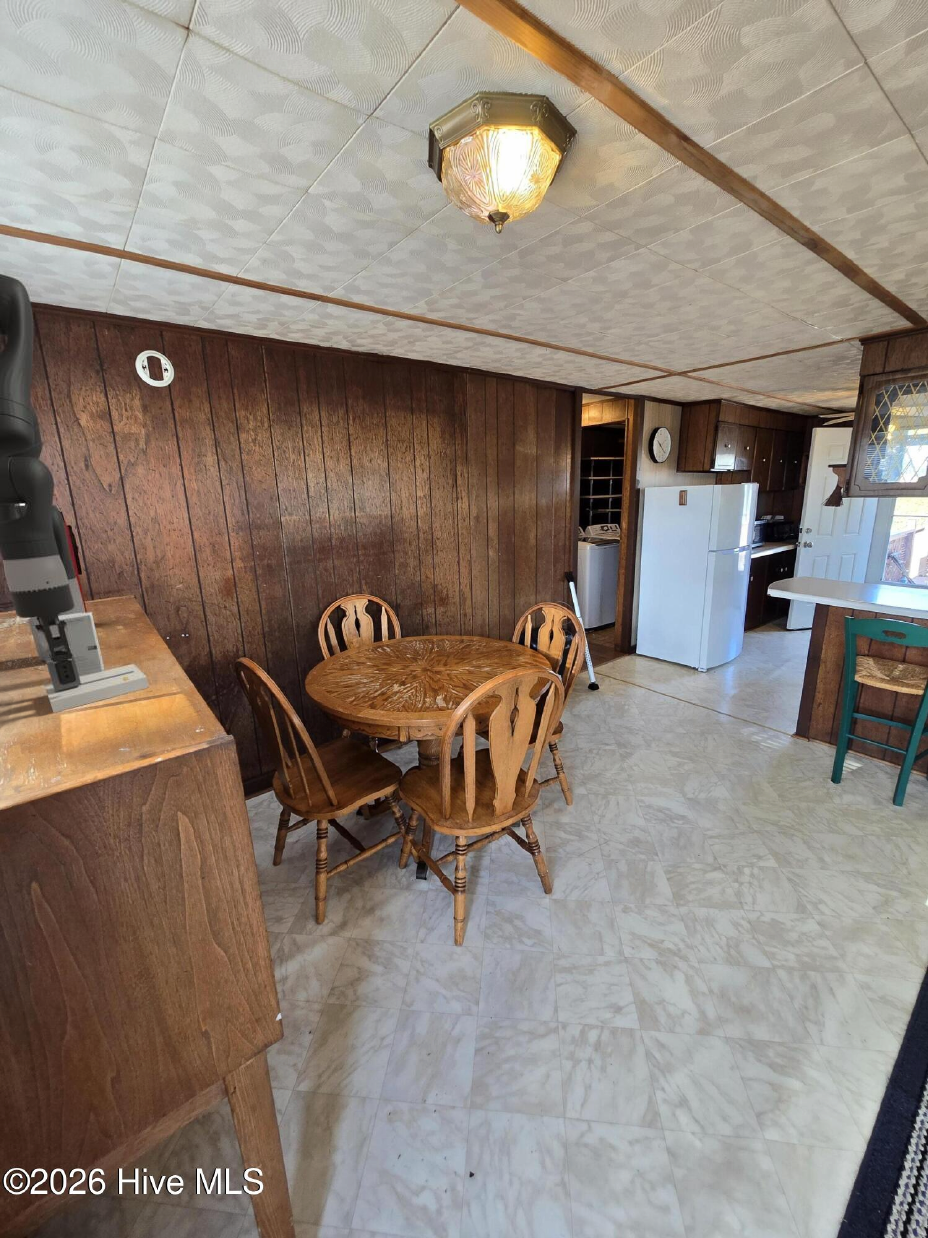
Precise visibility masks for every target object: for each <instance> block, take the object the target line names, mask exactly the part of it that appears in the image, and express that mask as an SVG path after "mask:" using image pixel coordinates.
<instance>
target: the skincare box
mask: <svg viewBox="0 0 928 1238" xmlns="http://www.w3.org/2000/svg"><path fill="white" fill-rule="evenodd" d="M58 617H59V620H60V621H62V620H64V621H65V622H66V624H67V627H68V636H69V639H70V642H71V648H70V651H71V653H72V655H73V657H74V660H75V663H76V667H77V671H78V674H79V677H81V676H85V675H89V674H94V673H98V672H102V671H105V664H104V661H103V657H102V652H101V647H100V643H99V640H98V633H97V631H96V626H95V622H94V616H93V612H92V611H85V612H84V613H75V614H68V615H61V616H58ZM62 651H64V650H62Z"/></svg>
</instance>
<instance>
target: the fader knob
mask: <svg viewBox="0 0 928 1238" xmlns="http://www.w3.org/2000/svg"><path fill="white" fill-rule="evenodd" d="M45 660H46V661H45ZM45 660H44V661H45V663H46V666H47V670H48V675H49V676H50V680H51V684H53V687H54V690H55V691H58V690H62V689H66V688H70V687H74V686H78V685H81V682H80V678H79V674H78V671H77V667H76V663H75V660H74V657H73V656H72V660H71V662H72V665H73V669H74V673H75V676H76V681H75V682H73V683H69V684H65V685H61V684H60V683H59V680H58V676H57V673H56V669H55V666H54V664H53V662H51V658H50V659H45Z"/></svg>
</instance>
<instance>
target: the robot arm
mask: <svg viewBox="0 0 928 1238" xmlns="http://www.w3.org/2000/svg"><path fill="white" fill-rule="evenodd" d="M34 331H35V330H34V314H33V308H32V304H31V299H30V296H29V292H28V290H27V288H26V286H25V285H24V284H23V282H22V281H20V279H18V278H14V277H12V276H8V275H6V274H2V273H0V337H6V338H7V342H6V344H5V346H4V348H3V349H2V351H1V352H0V555H1V556H0V557H1V559H2V562H3V569H4V575H5V578H6V583H7V586H8V590H9V593H10V597H11V601H12V603H13V607H14V610H15V613H16V615H17V616H18V617H20V618H25V619H27V618H28V624H29V627H30V628H29V629H30V631H31V635H32V638H33V642H34V645H35V648H36V652H37V655H38V659H39V661H45V662H46V660H45V659H50V658H51V662H53V664H54V666H55V669H56V673H57V676H58V680H59V683H60V684H61V685H65V684H69V683H73V682H75V681H76V676H75V673H74V669H73V665H72V662H71V660H72V656H73V655H72V653H71V651H70V648H71V642H70V639H69V636H68V627H67V624H66V622H65V621H64V620H62V621H60V620H59V617H58V616H61V615H68V614H75V613H84V612H86V609H85V605H84V601H83V598H82V593H81V590H80V585H79V581H78V579H77V575H76V571H75V567H74V563H73V560H72V556H71V551H70V546H69V541H68V536H67V531H66V526H65V522H64V518H63V515H62V513H61V512H60V510H59V509H58V508H57V507H56V506H55V505H54V504H53V502H54V494H55V482H54V476H53V473H52V471H51V470H50V468H49V467H48V466H47V464H46V463H44V462H43V461H42V460H40V459H39V458H40V456H41V455H42V451H43V442H42V435H41V431H40V425H39V424H40V422H39V417H38V415H37V412H36V410H35V409H34V407H33V406H32V404H31V403H32V400H31V399H32V397H31V389H32V387H31V386H32V375H33V373H32V372H33V364H34V363H33V362H34V361H33V360H34V358H33V357H34V336H35V334H34ZM21 504H23V505H21ZM62 650H64V651H62Z"/></svg>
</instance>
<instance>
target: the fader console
mask: <svg viewBox="0 0 928 1238" xmlns="http://www.w3.org/2000/svg"><path fill="white" fill-rule="evenodd" d="M79 678H80V682H81V685H78V686H74V687H70V688H66V689H62V690H58V691H55V690H54V687H53V684H52V683H49V684H44V687H45V692H46V694H47V699H48V701H49V704H50V707H51V709H52V713H53V714H54V713H58V712H62V711H65V710H70V709H74V708H77V707H78V708H79V707H80V706H85V705H88V704H91V703H96V702H100V701H102V700H106V699H107V700H108V699H111V698H115V697H119V696H121V695H124V694H128V693H133V692H137V691H140V690H144V689H148V688H150V685H149V682H148V681H149V680H148V676H146V675H145V674H144V673H143V671H141V669H140V668H138V666H137V665H136V664H134V663H132V664H128V665H125V666H120V667H116V668H111V669H107V670H103V671H102V672H98V673H94V674H89V675H85V676H81V677H79Z"/></svg>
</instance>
